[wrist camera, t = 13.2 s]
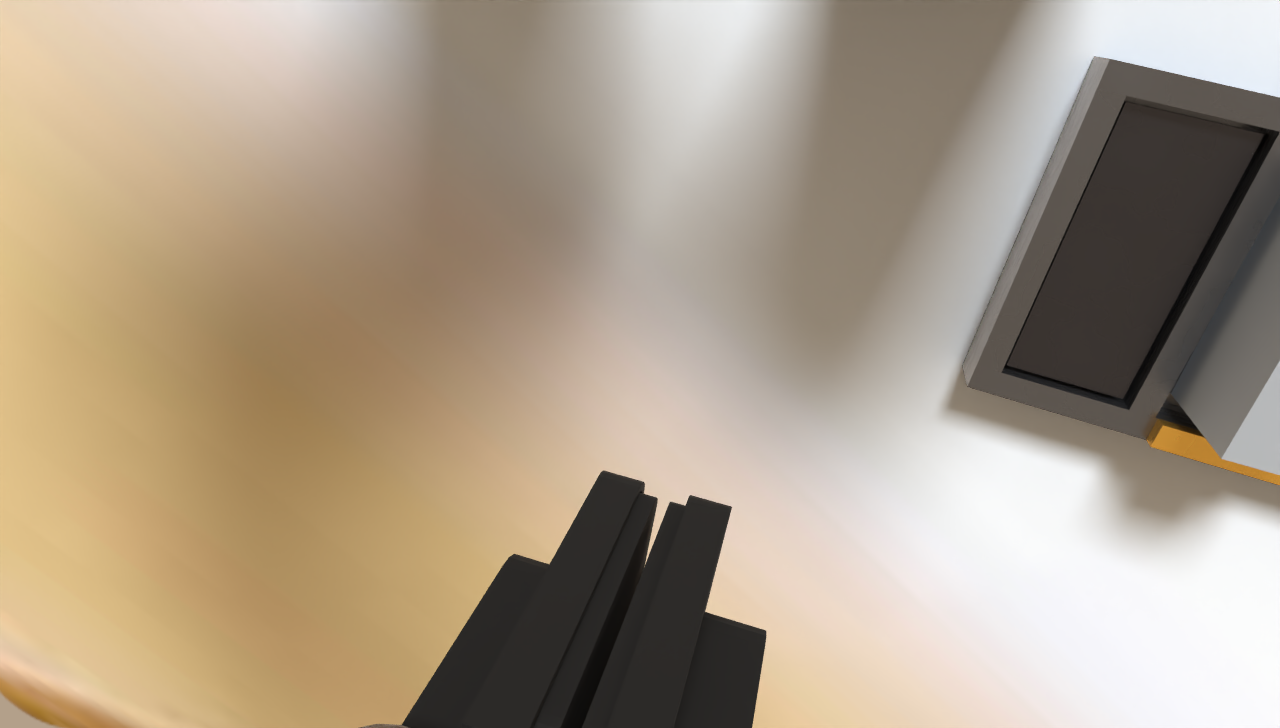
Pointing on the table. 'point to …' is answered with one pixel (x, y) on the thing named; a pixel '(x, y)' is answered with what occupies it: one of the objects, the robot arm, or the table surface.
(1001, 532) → the table surface
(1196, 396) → the rectangular block
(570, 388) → the table surface
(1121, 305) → the rack
